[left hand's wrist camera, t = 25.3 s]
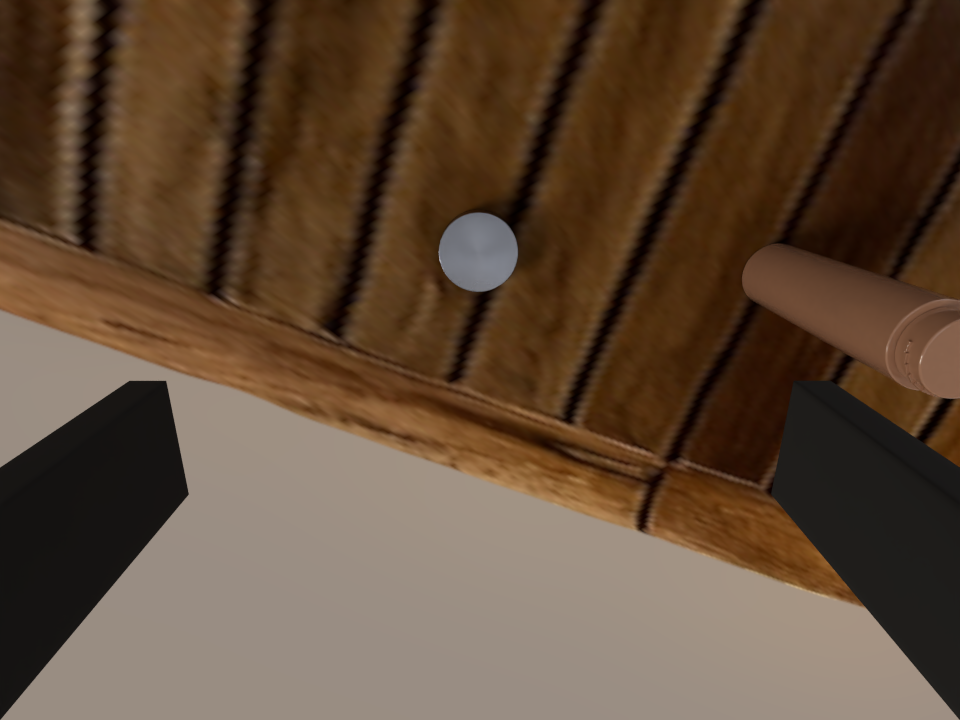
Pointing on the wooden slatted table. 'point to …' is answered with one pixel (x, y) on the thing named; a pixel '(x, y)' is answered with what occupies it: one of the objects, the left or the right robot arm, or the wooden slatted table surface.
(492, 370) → the wooden slatted table surface
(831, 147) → the wooden slatted table surface
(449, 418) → the wooden slatted table surface
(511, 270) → the lid
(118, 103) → the wooden slatted table surface
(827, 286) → the brown cylindrical rod
